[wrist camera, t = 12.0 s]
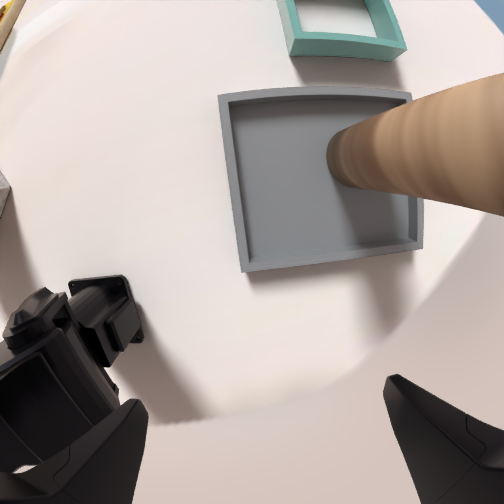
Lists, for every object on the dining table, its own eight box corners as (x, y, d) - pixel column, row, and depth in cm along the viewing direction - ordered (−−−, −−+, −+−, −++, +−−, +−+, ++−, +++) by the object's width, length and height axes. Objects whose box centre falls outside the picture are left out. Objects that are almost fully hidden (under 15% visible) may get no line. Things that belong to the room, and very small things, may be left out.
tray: (242, 263, 20) (241, 272, 19) (220, 102, 17) (217, 95, 15) (410, 242, 20) (422, 248, 18) (398, 98, 17) (411, 92, 15)
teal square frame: (289, 55, 16) (294, 38, 13) (271, -18, 14) (273, -38, 11) (390, 61, 16) (407, 49, 13) (364, -11, 13) (376, -27, 10)
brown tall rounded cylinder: (323, 183, 18) (511, 214, 4) (328, 122, 17) (497, 38, 2) (378, 192, 18) (562, 238, 4) (382, 135, 17) (561, 109, 3)
